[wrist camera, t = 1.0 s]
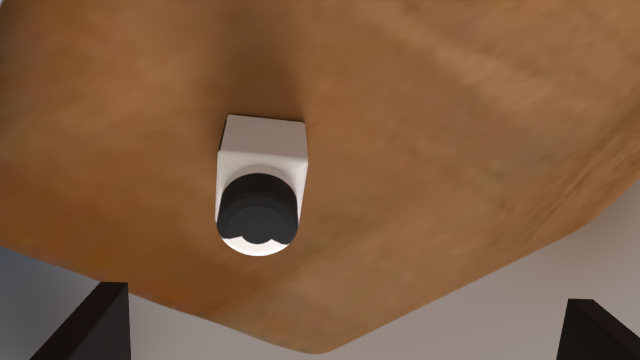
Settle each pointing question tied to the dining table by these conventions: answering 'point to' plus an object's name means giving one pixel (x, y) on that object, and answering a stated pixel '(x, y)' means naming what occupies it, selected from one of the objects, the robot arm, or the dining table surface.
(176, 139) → the dining table surface
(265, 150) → the medicine bottle
